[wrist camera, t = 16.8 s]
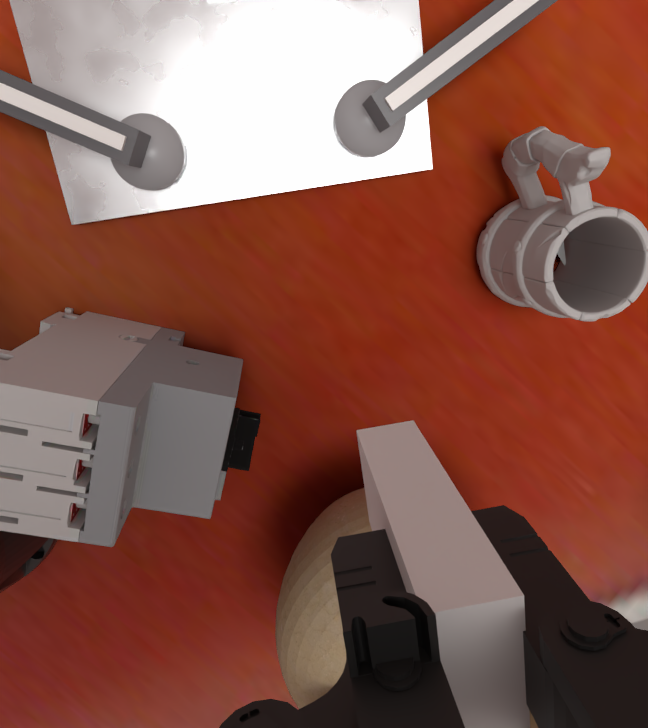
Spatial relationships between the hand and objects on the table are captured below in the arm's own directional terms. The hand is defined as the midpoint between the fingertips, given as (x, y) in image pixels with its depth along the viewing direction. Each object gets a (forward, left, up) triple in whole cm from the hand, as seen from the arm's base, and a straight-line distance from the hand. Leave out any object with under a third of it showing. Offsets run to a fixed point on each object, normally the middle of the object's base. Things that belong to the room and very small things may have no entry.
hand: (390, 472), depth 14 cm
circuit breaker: (-12, -4, -27) cm, 29 cm away
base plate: (-3, +15, -26) cm, 31 cm away
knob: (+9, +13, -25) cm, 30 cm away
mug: (+15, +3, -27) cm, 31 cm away
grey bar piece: (-13, +14, -25) cm, 31 cm away
